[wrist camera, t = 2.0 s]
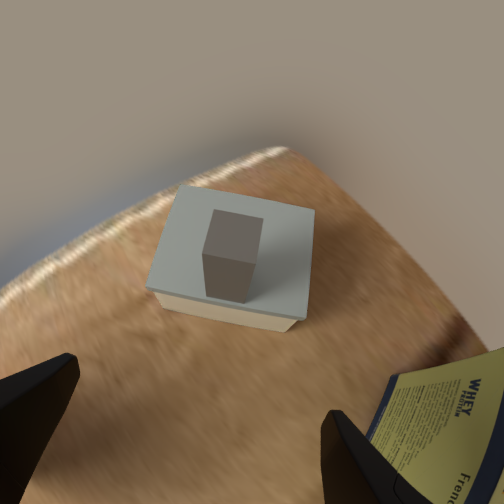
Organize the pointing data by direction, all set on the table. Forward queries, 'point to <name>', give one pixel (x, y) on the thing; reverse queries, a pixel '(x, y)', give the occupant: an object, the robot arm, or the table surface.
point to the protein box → (447, 429)
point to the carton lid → (235, 253)
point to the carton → (224, 313)
